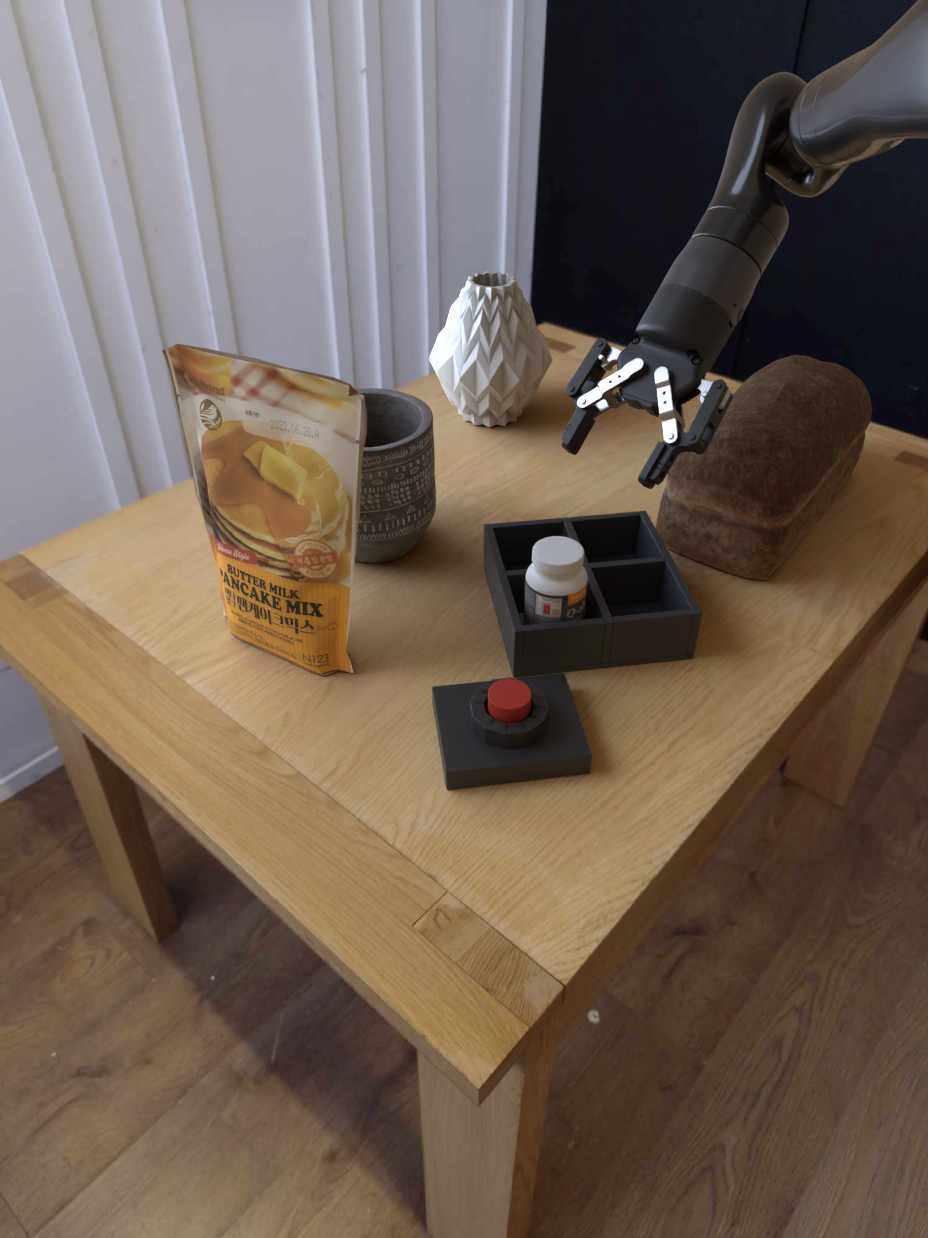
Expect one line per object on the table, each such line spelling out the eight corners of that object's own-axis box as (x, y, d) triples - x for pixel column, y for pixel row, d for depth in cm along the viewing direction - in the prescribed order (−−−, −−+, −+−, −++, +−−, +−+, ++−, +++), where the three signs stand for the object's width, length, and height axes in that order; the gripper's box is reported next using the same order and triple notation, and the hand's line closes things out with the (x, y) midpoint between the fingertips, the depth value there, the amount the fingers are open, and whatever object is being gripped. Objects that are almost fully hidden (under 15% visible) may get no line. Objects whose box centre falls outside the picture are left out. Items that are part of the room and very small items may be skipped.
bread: (863, 469, 111) (903, 347, 100) (764, 597, 91) (800, 461, 81) (752, 437, 117) (778, 319, 107) (637, 548, 98) (656, 417, 88)
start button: (526, 691, 76) (526, 676, 74) (534, 721, 73) (535, 706, 72) (484, 695, 75) (484, 680, 74) (491, 726, 72) (491, 711, 71)
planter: (462, 533, 100) (462, 412, 91) (376, 592, 92) (365, 466, 82) (372, 491, 107) (363, 375, 98) (284, 543, 99) (264, 422, 89)
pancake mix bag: (244, 589, 93) (189, 327, 75) (392, 652, 85) (370, 377, 67) (197, 624, 88) (128, 355, 70) (349, 694, 80) (314, 412, 63)
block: (562, 690, 81) (565, 657, 78) (590, 773, 73) (594, 740, 71) (432, 703, 79) (431, 671, 77) (446, 790, 72) (445, 757, 69)
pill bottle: (577, 657, 83) (586, 572, 77) (517, 648, 84) (521, 564, 78) (585, 620, 87) (594, 536, 81) (528, 611, 88) (532, 528, 82)
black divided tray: (639, 553, 97) (645, 510, 94) (693, 658, 84) (703, 613, 80) (483, 567, 95) (483, 524, 92) (513, 677, 82) (514, 631, 78)
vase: (408, 420, 122) (401, 284, 110) (478, 378, 132) (479, 250, 120) (504, 454, 114) (508, 312, 102) (571, 408, 124) (581, 274, 112)
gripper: (617, 263, 78) (526, 424, 80) (760, 304, 71) (658, 482, 72) (645, 306, 85) (560, 455, 86) (779, 348, 77) (684, 511, 78)
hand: (605, 467), depth 79 cm, fingers open, 8 cm apart
